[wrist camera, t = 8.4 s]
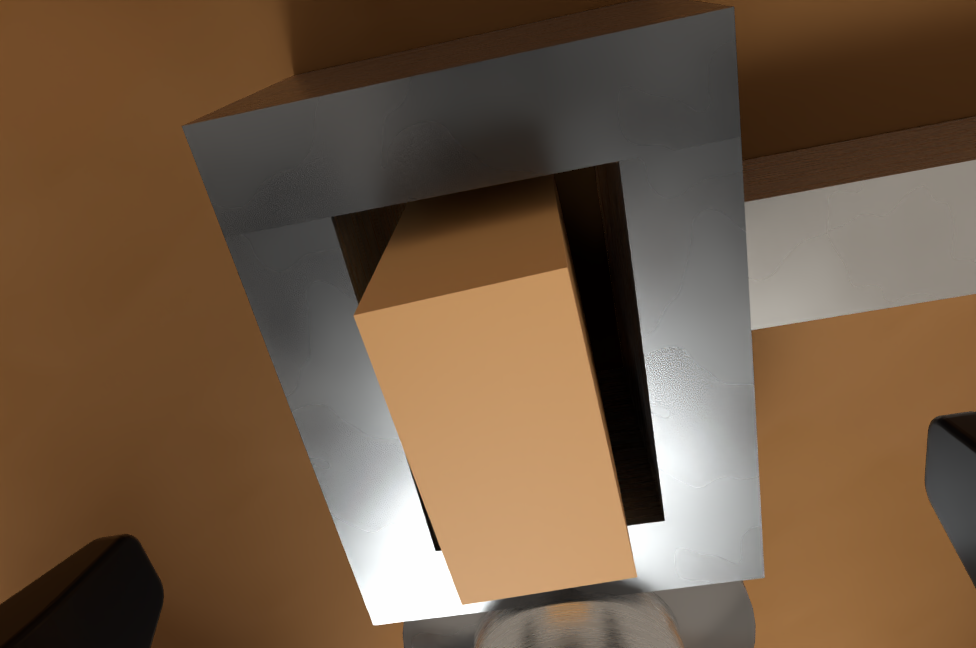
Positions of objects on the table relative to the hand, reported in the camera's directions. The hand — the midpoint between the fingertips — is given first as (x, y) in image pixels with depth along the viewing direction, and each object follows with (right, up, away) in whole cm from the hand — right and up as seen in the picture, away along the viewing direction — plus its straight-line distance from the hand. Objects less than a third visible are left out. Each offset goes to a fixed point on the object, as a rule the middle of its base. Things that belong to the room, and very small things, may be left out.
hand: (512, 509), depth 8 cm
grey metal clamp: (+5, +2, +8) cm, 9 cm away
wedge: (0, +4, +7) cm, 8 cm away
